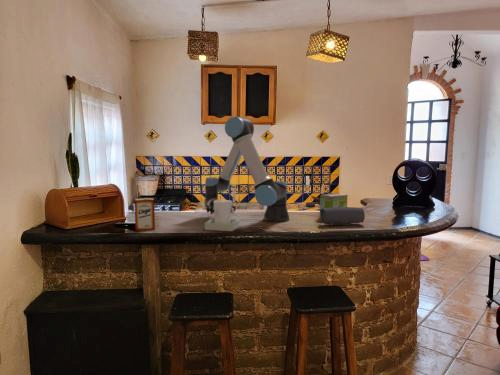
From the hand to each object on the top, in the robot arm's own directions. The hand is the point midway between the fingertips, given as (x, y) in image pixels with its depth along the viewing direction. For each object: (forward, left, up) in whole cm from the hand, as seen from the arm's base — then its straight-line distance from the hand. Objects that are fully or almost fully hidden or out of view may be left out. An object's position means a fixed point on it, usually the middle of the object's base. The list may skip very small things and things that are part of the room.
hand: (224, 211), depth 187 cm
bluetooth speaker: (-60, -28, -10) cm, 66 cm away
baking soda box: (+40, +10, -9) cm, 43 cm away
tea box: (-55, -48, -10) cm, 73 cm away
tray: (+2, -4, -9) cm, 10 cm away
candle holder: (+3, -4, -7) cm, 9 cm away
